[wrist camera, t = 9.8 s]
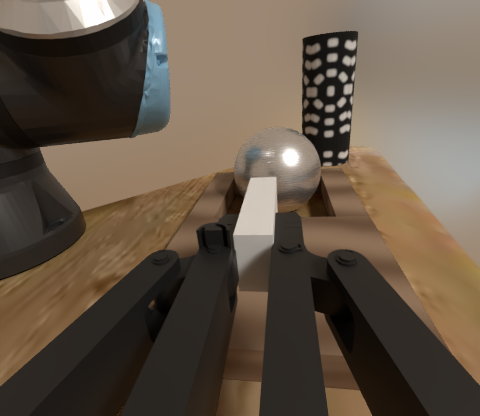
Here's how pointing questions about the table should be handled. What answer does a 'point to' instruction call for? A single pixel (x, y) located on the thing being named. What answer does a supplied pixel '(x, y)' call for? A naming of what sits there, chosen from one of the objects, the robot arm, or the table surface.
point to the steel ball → (280, 165)
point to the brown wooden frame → (317, 242)
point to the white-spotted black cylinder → (329, 93)
